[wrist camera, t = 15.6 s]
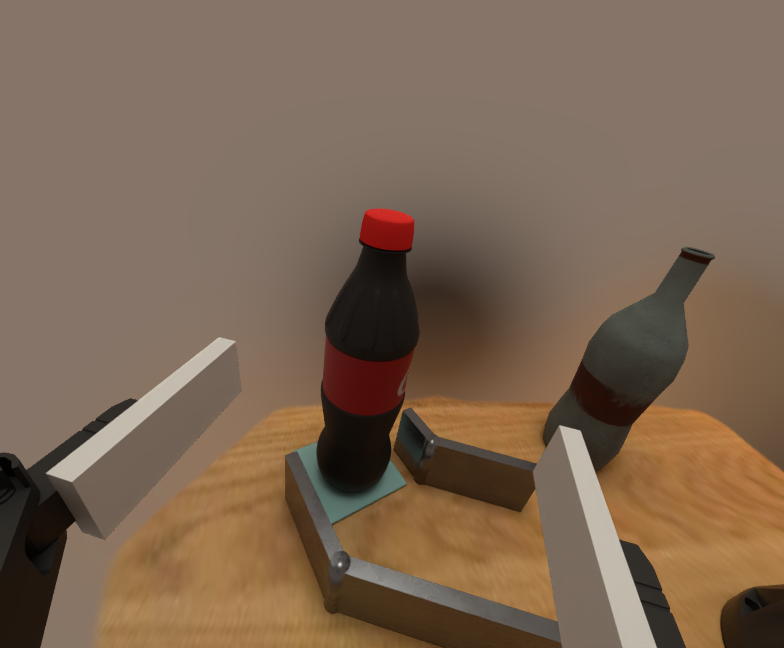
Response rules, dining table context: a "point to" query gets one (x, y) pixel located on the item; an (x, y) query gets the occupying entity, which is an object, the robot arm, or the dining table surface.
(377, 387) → the cola bottle
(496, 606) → the channel
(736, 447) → the dining table surface
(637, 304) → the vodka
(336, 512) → the tile
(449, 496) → the dining table surface
